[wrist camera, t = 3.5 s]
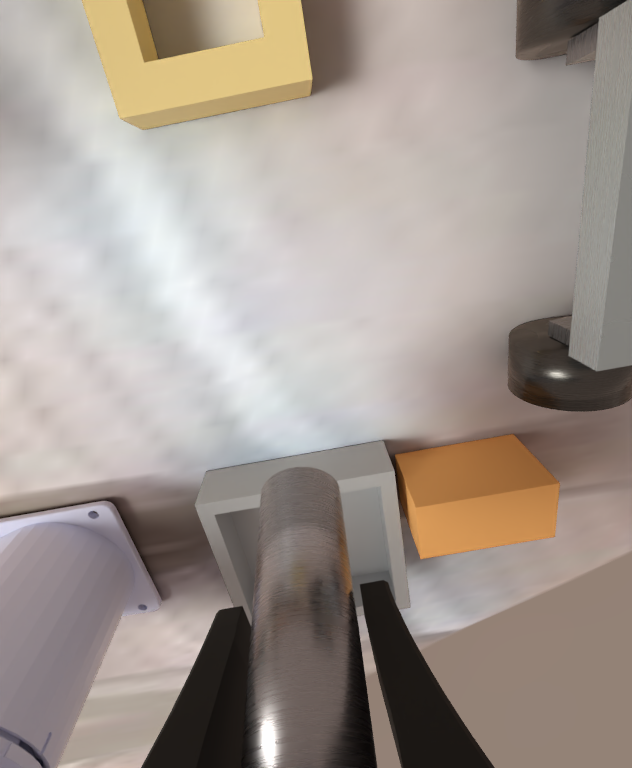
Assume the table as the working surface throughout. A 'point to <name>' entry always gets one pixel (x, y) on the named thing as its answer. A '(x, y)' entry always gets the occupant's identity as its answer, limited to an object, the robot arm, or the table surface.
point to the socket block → (198, 65)
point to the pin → (305, 634)
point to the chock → (476, 496)
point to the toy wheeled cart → (587, 218)
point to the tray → (360, 509)
